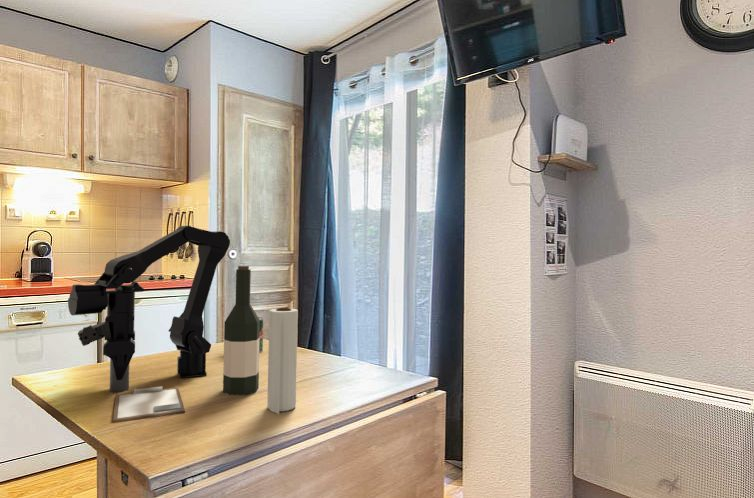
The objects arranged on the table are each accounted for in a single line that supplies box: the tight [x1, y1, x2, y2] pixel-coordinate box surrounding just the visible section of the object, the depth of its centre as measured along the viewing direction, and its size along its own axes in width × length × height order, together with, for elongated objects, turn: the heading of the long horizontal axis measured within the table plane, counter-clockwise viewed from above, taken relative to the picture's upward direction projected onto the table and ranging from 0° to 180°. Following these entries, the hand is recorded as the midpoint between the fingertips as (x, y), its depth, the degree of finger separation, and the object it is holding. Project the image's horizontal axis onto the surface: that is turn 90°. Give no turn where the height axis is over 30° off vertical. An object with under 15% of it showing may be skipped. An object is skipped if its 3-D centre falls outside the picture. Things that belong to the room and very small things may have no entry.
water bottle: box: [109, 358, 130, 393], centre depth 110 cm, size 4×4×10 cm
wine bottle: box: [222, 265, 260, 396], centre depth 111 cm, size 8×8×30 cm
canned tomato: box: [258, 316, 264, 354], centre depth 152 cm, size 8×8×11 cm
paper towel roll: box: [266, 307, 299, 416], centre depth 100 cm, size 7×6×21 cm
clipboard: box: [112, 385, 186, 423], centre depth 100 cm, size 13×17×1 cm
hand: (119, 376), depth 110 cm, fingers open, 5 cm apart
